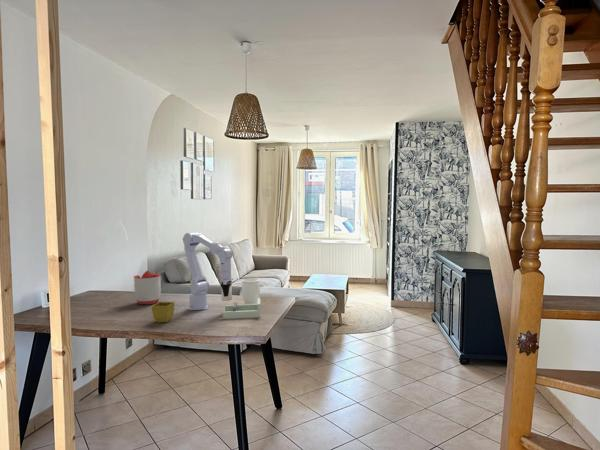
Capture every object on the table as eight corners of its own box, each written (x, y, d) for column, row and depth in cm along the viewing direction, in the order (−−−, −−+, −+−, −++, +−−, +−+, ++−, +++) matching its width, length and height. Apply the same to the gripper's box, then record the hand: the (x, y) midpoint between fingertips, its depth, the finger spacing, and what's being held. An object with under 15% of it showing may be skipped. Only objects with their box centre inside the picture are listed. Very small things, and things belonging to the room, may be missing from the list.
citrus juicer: (154, 298, 257) (153, 267, 256) (165, 302, 245) (164, 270, 244) (129, 302, 247) (128, 270, 246) (140, 307, 234) (139, 273, 233)
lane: (222, 318, 206) (222, 305, 206) (225, 311, 221) (225, 299, 221) (260, 317, 208) (260, 304, 208) (260, 310, 223) (260, 297, 223)
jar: (261, 302, 241) (261, 278, 240) (258, 307, 230) (257, 281, 230) (244, 302, 242) (244, 278, 241) (240, 306, 231) (239, 281, 231)
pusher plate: (233, 316, 209) (233, 307, 209) (234, 311, 220) (234, 302, 219) (236, 316, 209) (235, 307, 209) (237, 311, 220) (237, 302, 220)
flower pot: (151, 323, 200) (150, 305, 200) (159, 318, 209) (159, 301, 208) (167, 323, 199) (167, 306, 198) (175, 319, 208) (175, 302, 207)
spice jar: (221, 301, 216) (220, 284, 216) (221, 298, 222) (221, 282, 222) (231, 300, 217) (231, 283, 216) (232, 298, 223) (231, 282, 222)
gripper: (232, 272, 212) (233, 297, 212) (233, 268, 226) (234, 292, 227) (219, 272, 211) (219, 298, 212) (221, 268, 226) (222, 292, 226)
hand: (226, 295), depth 219 cm, fingers closed on spice jar, 5 cm apart
